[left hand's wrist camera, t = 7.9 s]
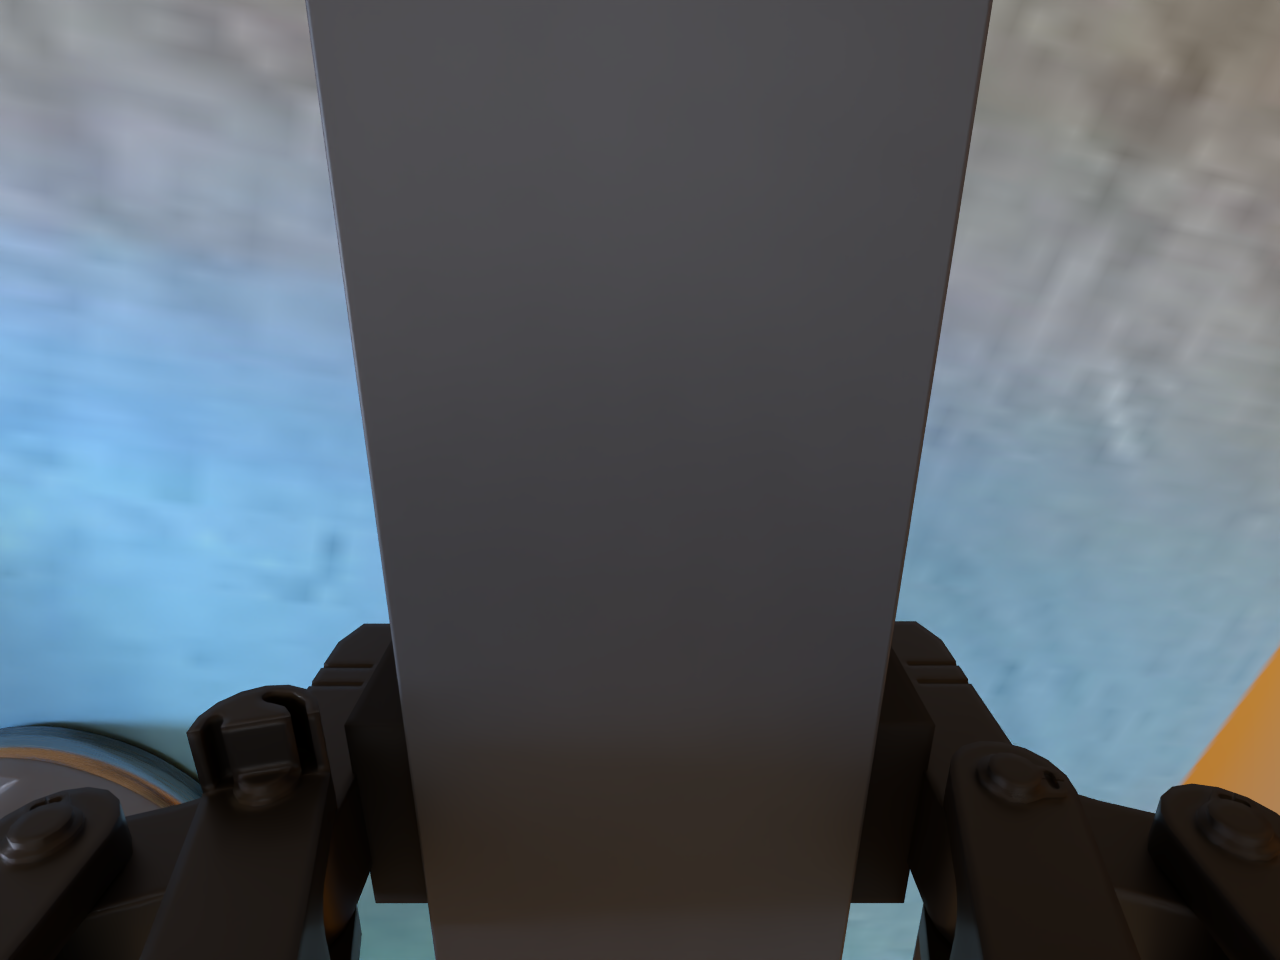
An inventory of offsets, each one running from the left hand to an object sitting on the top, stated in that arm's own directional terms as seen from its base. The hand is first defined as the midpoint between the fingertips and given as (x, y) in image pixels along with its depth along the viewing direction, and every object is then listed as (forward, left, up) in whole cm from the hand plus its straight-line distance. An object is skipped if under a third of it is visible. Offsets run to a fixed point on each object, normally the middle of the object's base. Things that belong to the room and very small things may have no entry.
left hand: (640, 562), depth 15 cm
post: (+17, +12, 0) cm, 20 cm away
